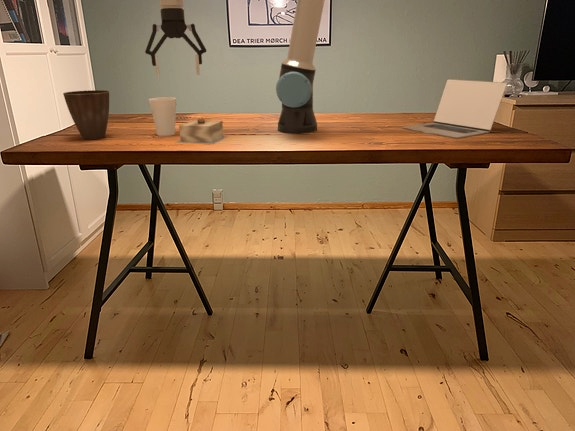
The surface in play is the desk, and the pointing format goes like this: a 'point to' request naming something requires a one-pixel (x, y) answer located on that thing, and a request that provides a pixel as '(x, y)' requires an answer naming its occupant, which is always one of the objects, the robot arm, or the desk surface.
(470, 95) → the laptop
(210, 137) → the lid
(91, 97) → the plant pot
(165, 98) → the foam cup
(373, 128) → the desk surface
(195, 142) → the mat
